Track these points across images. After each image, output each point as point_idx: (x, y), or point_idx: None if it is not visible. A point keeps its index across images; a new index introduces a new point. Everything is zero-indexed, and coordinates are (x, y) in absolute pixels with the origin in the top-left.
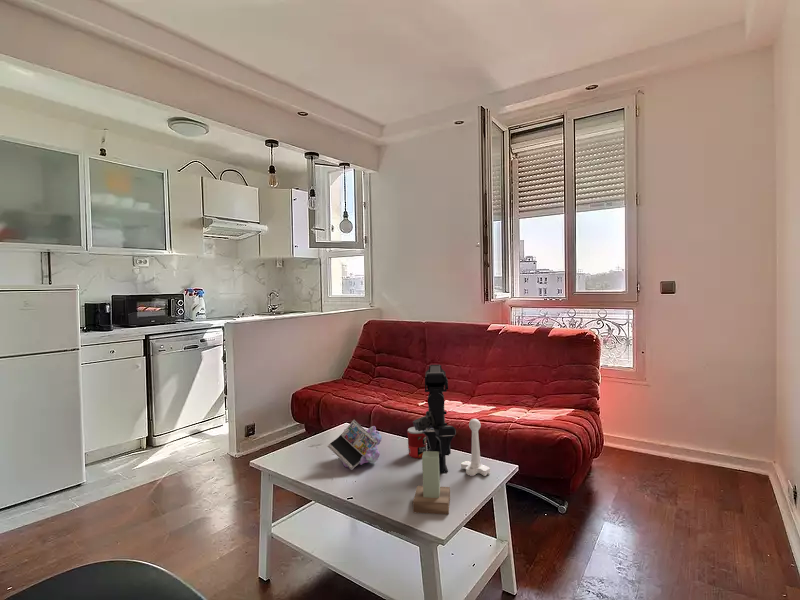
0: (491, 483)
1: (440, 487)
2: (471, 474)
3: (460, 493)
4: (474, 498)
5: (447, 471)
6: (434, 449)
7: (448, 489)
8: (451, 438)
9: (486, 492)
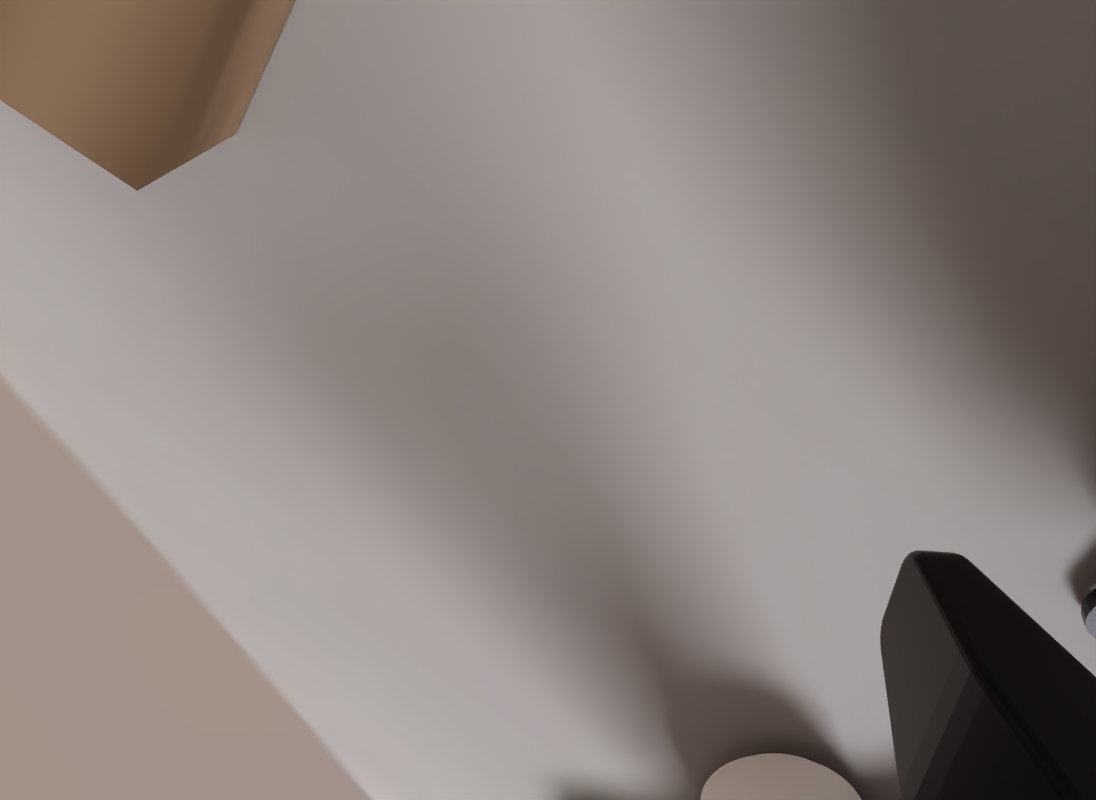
0: (410, 783)
1: (159, 4)
2: (715, 779)
3: (303, 341)
4: (113, 407)
5: (1082, 616)
6: (900, 722)
7: (44, 107)
8: None
9: (219, 609)
